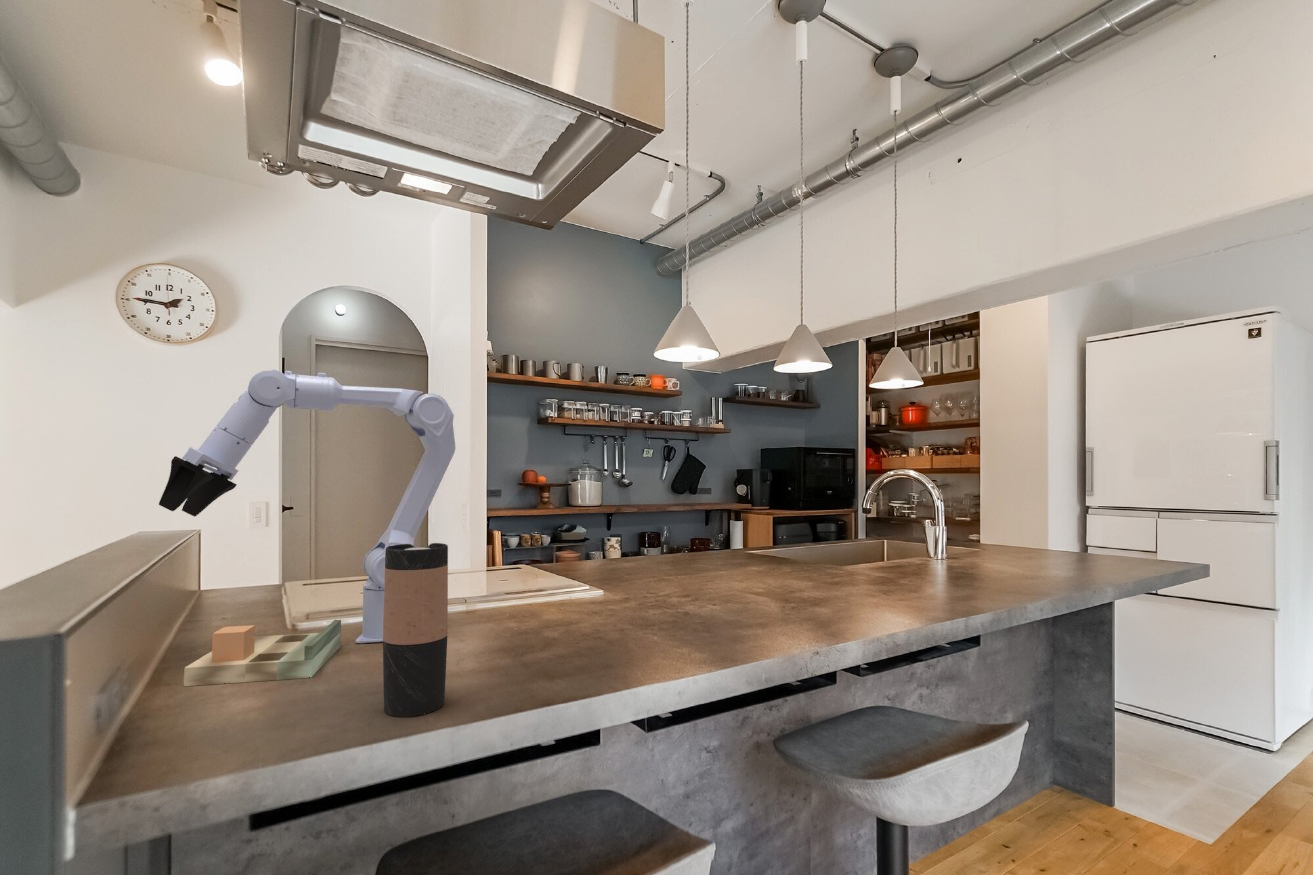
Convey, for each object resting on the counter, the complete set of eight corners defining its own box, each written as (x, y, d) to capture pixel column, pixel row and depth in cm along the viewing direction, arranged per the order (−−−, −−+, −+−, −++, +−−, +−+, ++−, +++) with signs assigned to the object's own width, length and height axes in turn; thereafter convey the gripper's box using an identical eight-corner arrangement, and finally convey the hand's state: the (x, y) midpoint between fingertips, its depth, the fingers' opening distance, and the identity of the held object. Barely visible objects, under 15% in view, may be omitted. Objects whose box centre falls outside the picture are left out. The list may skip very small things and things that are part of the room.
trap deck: (340, 646, 106) (341, 619, 107) (311, 677, 91) (312, 645, 91) (233, 653, 103) (234, 625, 103) (183, 686, 87) (184, 653, 87)
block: (254, 652, 95) (255, 625, 95) (243, 660, 91) (244, 631, 91) (224, 654, 94) (224, 626, 94) (211, 662, 90) (212, 633, 90)
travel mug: (407, 723, 75) (410, 551, 76) (368, 710, 79) (371, 547, 80) (459, 702, 81) (461, 544, 82) (420, 691, 85) (422, 541, 86)
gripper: (227, 434, 108) (174, 504, 104) (190, 412, 95) (127, 491, 90) (266, 454, 109) (215, 524, 105) (235, 435, 95) (174, 515, 91)
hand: (177, 510), depth 98 cm, fingers open, 7 cm apart
